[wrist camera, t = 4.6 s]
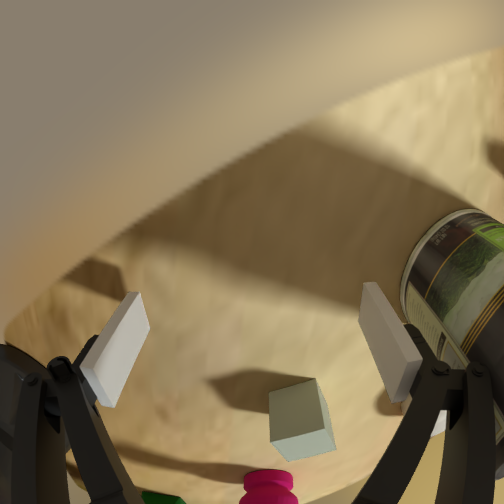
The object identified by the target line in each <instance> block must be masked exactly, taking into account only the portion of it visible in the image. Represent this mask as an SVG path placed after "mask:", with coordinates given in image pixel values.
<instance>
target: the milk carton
mask: <svg viewBox="0 0 504 504" xmlns="http://www.w3.org/2000/svg"><path fill="white" fill-rule="evenodd" d="M141 498H142V499H143V501H144V503H145V504H186V503H185V502H184V501H183V500H182V499H181V498H180V497H175V496H168V495H161V494H155V493H149V492H144V491H142V495H141Z"/></svg>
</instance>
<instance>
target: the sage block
mask: <svg viewBox="0 0 504 504" xmlns="http://www.w3.org/2000/svg"><path fill="white" fill-rule="evenodd" d="M269 423H270V443H271V444H272V445H273V446H274V447H275V448H276V449H277V450H278V452H279V453H280V454H281V455H282V456H283V457H284V458H285V459H286V460H287V461H288V462H289V461H294V460H299V459H303V458H307V457H311V456H315V455H319V454H323V453H327V452H330V451H334V450H336V445H335V440H334V435H333V430H332V425H331V420H330V415H329V410H328V405H327V402H326V400H325V398H324V396H323V394H322V391H321V389H320V387H319V385H318V383H317V380H316V379H312V380H309V381H306V382H303V383H300V384H296V385H293V386H290V387H286V388H283V389H279V390H276V391H272V392H269Z"/></svg>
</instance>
